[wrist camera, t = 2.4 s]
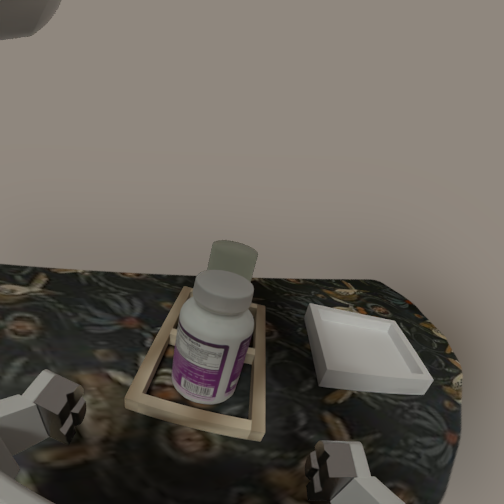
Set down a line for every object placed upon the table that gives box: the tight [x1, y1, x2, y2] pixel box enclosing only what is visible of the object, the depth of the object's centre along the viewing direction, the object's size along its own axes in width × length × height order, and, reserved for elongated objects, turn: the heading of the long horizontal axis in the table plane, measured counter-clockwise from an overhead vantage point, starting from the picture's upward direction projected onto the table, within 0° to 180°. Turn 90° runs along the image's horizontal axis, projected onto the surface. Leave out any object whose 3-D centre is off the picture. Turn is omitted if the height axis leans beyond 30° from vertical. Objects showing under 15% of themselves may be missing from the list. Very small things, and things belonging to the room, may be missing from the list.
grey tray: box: [304, 303, 433, 395], centre depth 32 cm, size 13×13×2 cm
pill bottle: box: [172, 270, 254, 404], centre depth 22 cm, size 5×5×10 cm
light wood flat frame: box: [125, 286, 265, 442], centre depth 27 cm, size 10×19×1 cm, turn 178°
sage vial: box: [207, 240, 258, 282], centre depth 30 cm, size 4×4×9 cm
